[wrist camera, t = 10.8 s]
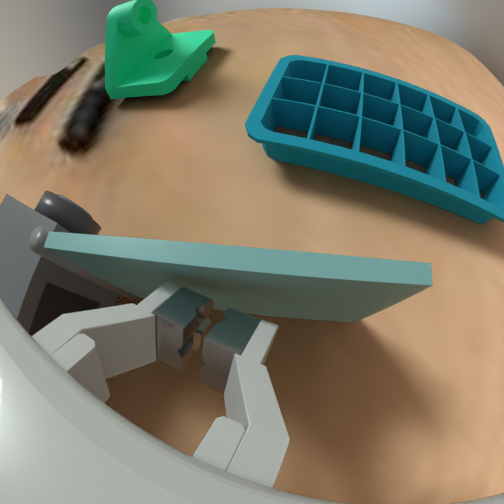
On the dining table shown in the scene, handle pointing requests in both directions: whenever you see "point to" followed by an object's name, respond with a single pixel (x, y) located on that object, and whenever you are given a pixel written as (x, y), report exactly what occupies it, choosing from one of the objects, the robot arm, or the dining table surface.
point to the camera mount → (149, 52)
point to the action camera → (44, 263)
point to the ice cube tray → (381, 134)
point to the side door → (239, 274)
